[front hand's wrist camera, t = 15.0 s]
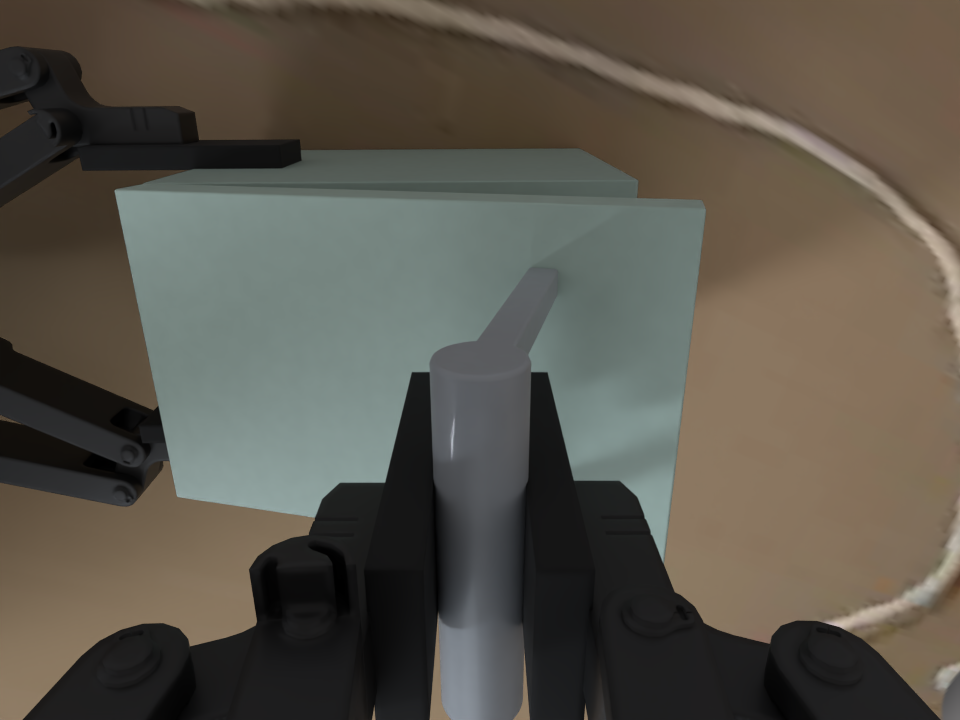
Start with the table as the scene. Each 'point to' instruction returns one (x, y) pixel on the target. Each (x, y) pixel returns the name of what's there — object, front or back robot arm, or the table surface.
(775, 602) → the table surface
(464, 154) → the chest
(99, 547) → the table surface
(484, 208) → the lid
